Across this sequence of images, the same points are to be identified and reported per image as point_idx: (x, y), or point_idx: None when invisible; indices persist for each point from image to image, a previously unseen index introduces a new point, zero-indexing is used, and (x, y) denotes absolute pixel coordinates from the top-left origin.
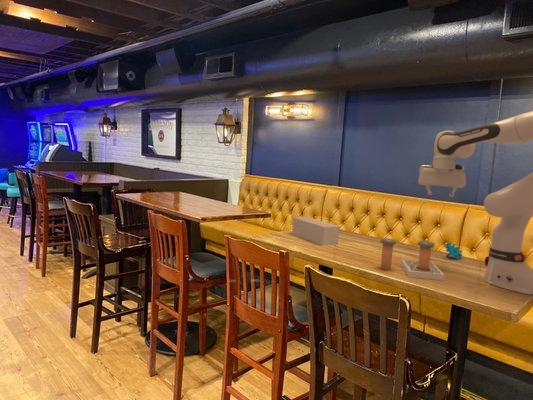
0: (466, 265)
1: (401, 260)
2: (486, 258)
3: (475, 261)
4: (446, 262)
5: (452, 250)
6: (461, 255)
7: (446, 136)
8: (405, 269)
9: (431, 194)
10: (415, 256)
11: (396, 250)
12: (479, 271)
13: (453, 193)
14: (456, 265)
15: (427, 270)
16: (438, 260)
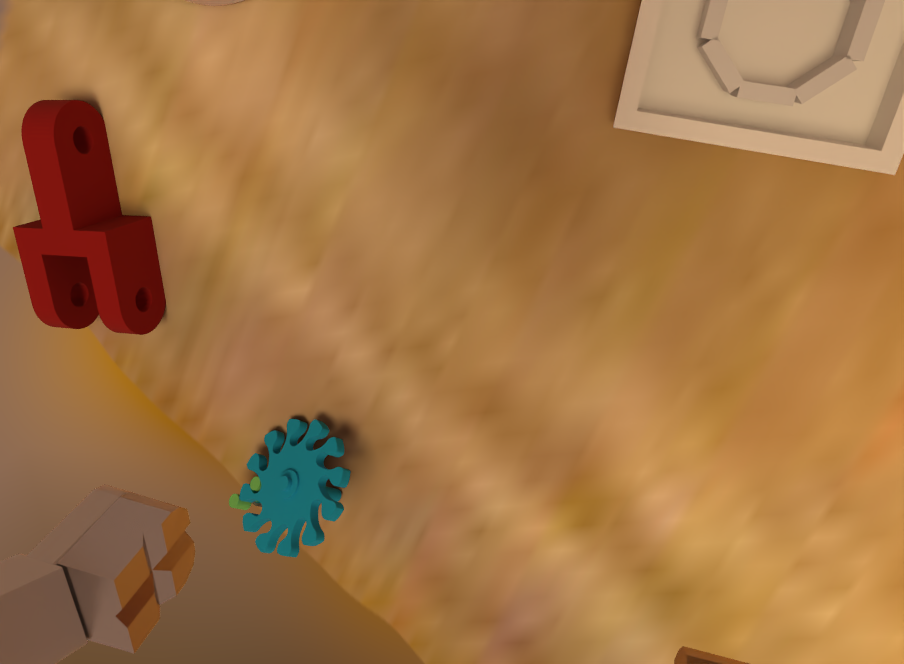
0: (291, 287)
1: (899, 155)
2: (135, 321)
3: (196, 393)
4: (404, 344)
5: (302, 481)
6: (255, 457)
7: None
8: None
9: (707, 654)
10: (575, 474)
11: (653, 614)
12: (258, 144)
13: (51, 540)
14: (363, 276)
15: None
16: (442, 388)
